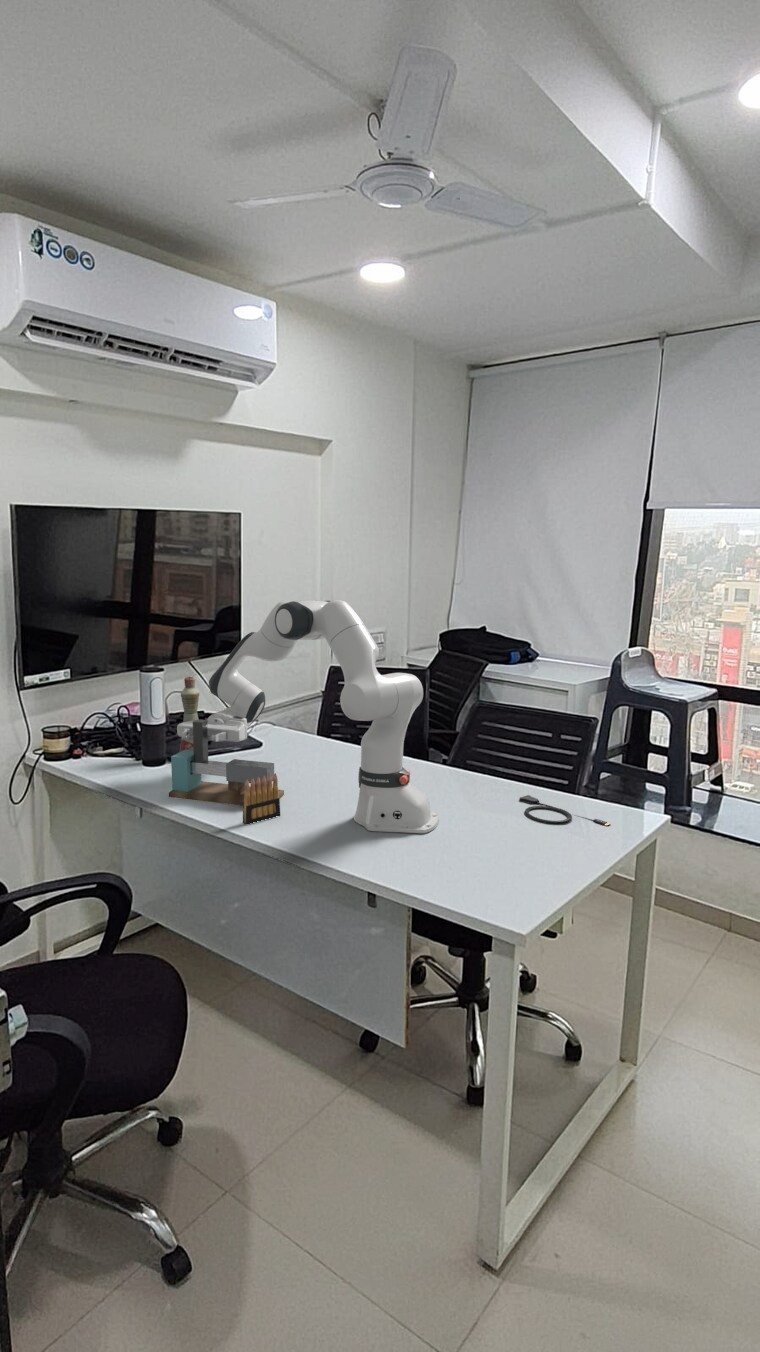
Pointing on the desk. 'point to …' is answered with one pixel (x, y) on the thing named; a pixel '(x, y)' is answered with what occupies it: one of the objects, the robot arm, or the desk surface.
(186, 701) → the bottle
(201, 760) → the dark grey upright post
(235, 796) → the base board
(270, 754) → the desk surface
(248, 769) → the outer sleeve
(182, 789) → the socket block
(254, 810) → the ammunition clip
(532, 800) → the cable
